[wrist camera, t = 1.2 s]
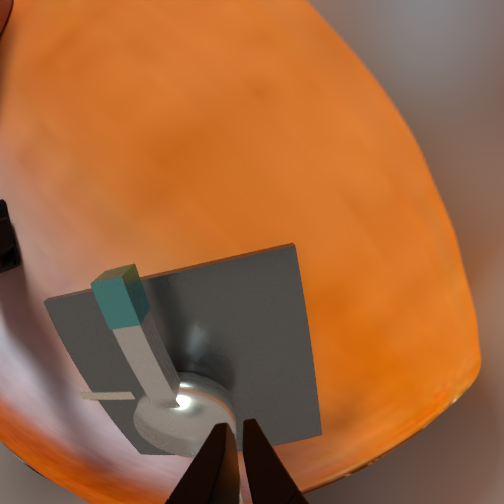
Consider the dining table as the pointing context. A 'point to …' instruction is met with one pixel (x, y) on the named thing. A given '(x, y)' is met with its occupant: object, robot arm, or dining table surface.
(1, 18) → the potted cactus
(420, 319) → the dining table surface
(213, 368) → the lock base
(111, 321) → the teal-tipped lever
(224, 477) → the robot arm
